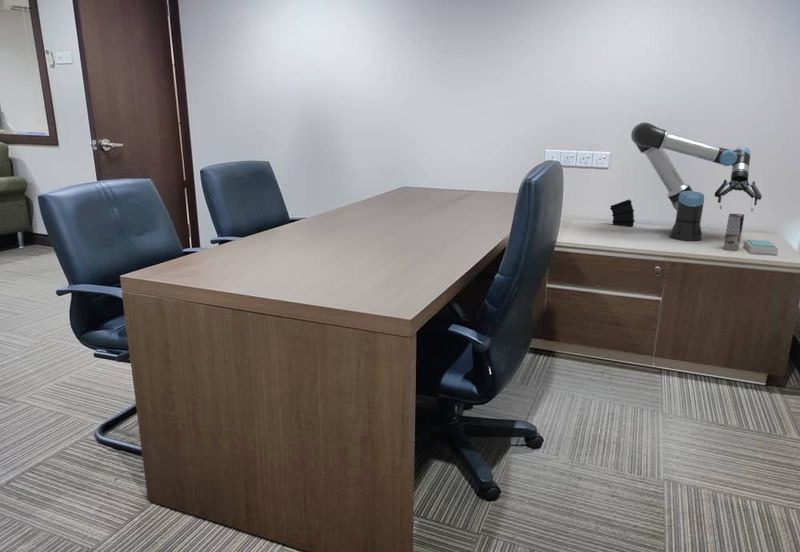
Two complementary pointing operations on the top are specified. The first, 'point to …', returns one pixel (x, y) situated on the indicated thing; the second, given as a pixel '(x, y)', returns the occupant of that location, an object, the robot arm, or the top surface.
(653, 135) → the robot arm
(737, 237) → the coffee box
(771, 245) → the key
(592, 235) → the top surface
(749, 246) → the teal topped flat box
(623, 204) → the black ridged block
